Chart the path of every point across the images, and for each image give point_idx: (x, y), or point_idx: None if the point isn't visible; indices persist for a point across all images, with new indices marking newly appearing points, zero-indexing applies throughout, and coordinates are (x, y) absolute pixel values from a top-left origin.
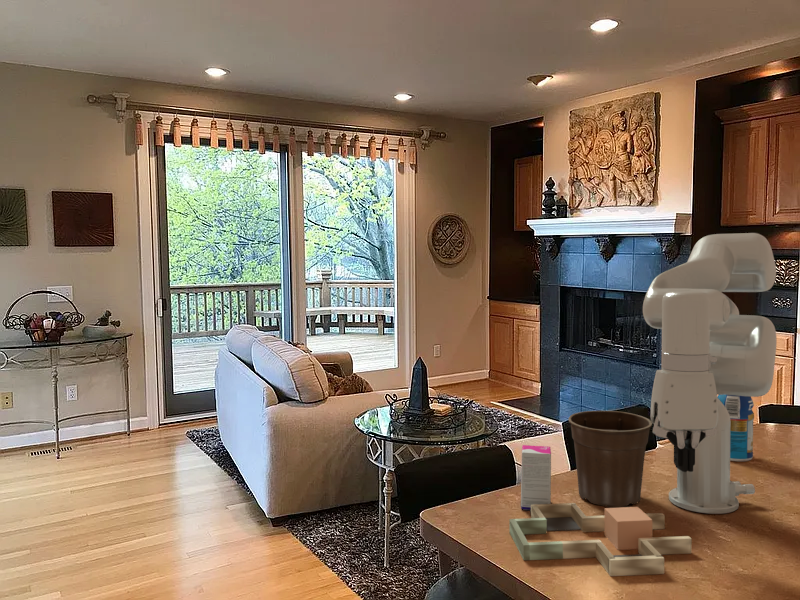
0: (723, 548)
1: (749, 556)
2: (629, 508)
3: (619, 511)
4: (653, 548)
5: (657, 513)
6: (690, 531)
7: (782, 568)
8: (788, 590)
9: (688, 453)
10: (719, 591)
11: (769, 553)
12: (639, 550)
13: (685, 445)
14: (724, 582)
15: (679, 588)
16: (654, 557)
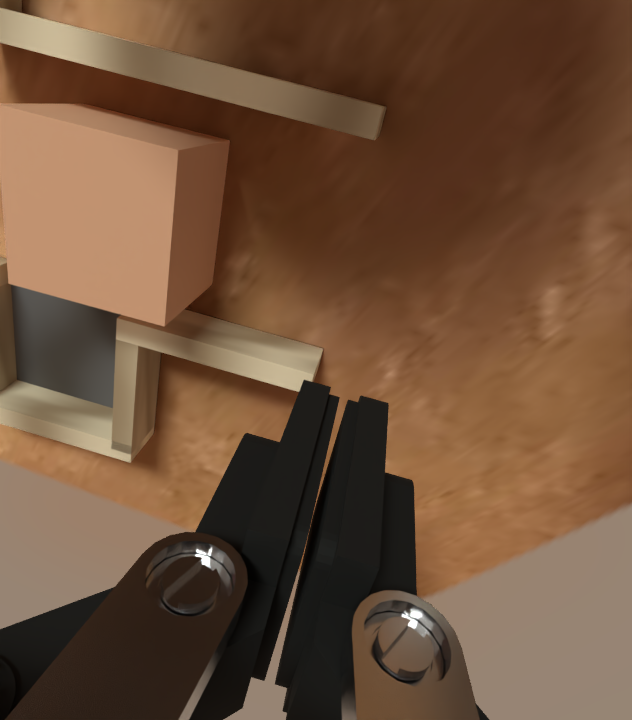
0: (460, 379)
1: (489, 452)
2: (124, 157)
3: (56, 178)
4: (130, 403)
5: (354, 103)
6: (472, 204)
7: (507, 535)
8: None
9: (285, 640)
10: None
11: (577, 463)
12: None
13: (309, 640)
14: None
15: (152, 497)
16: (102, 449)
